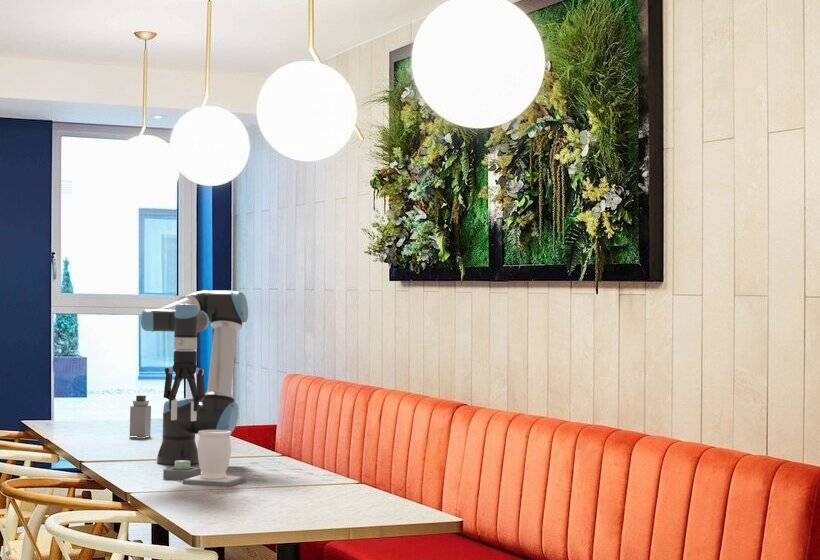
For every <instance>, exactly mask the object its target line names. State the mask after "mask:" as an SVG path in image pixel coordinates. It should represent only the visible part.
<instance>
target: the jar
mask: <svg viewBox="0 0 820 560" xmlns="http://www.w3.org/2000/svg"><path fill="white" fill-rule="evenodd" d="M197 435H198V436H199V438H198V443H197V449H198V459H199V463H198V465H199V468H200V469H201V475H200V477H201V478H204V479H223V478H226V477H227V476H228V475H227V474H226V472H227V470H228V467H229V463H230V458H231V451H232V447H231V446H232V445H231V438H230V436H231V435H232V432H231V431H228V430H201V431H198V434H197Z"/></svg>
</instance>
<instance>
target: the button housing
mask: <svg viewBox="0 0 820 560" xmlns="http://www.w3.org/2000/svg"><path fill="white" fill-rule="evenodd" d="M201 474H202V471H201V469H200V467H193V466H190V470H187V471H185V470H175V466H173V467H170V468H165V469H163V475H162V477H163V478H162V479H163V480H173V481H174V480H175V481H183V480H185V479H188V478H192V477H195V476H198V475H201Z"/></svg>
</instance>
